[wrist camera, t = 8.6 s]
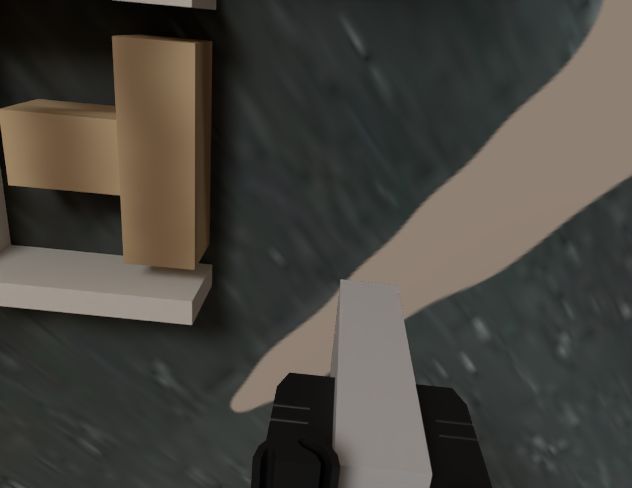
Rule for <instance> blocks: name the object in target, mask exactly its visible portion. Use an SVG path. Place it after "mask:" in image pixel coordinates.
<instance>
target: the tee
mask: <svg viewBox="0 0 632 488" xmlns="http://www.w3.org/2000/svg"><path fill="white" fill-rule="evenodd" d="M112 46H113V66H114V85H115V104H116V106H109V105H98V104H88V103H77V102H66V101H55V100H44V99H36V100H32V101H28V102H24V103H20V104H16V105H12V106H9V107H5V108H1V109H0V126H1V133H2V141H3V148H4V156H5V163H6V171H7V179H8V185H12V186H23V187H34V188H45V189H56V190H67V191H78V192H88V193H99V194H110V195H120V200H121V219H122V238H123V257H124V263H125V264H136V265H147V266H158V267H168V268H179V269H190V270H195V268H196V267H197V265H198V263H199V261H200V260H201V258H202V256H203V254H204V253H205V251H206V249H207V247H208V246H209V244H210V175H211V97H212V41H206V40H195V39H184V38H174V37H163V36H152V35H142V34H136V35H119V36H112Z"/></svg>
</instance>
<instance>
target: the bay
mask: <svg viewBox="0 0 632 488" xmlns="http://www.w3.org/2000/svg"><path fill="white" fill-rule="evenodd" d="M114 1H125V2H136V3H147V4H158V5H168V6H179V7H190V8H201V9H212V10H216V0H114ZM211 286H212V265H211V264H201V263H198V265H197V267H196V268H195V270H190V269H179V268H168V267H158V266H147V265H136V264H125V263H124V257H123V256H120V255H110V254H100V253H89V252H79V251H69V250H59V249H49V248H39V247H29V246H18V245H11V240H10V233H9V226H8V219H7V211H6V204H5V197H4V189H3V182H2V175H1V167H0V306H6V307H16V308H26V309H36V310H46V311H56V312H66V313H76V314H86V315H96V316H106V317H116V318H126V319H136V320H146V321H156V322H166V323H176V324H186V325H192V324H193V322H194V320H195V318H196V316H197V314H198V312H199V310H200V308H201V306H202V304H203V302H204V300H205V298H206V296H207V294H208V292H209V290H210V288H211Z"/></svg>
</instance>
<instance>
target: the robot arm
mask: <svg viewBox="0 0 632 488" xmlns="http://www.w3.org/2000/svg"><path fill="white" fill-rule="evenodd" d="M251 488H492V485H491V482H490V479H489V476H488V473H487V469H486V466H485V463H484V460H483V456H482V453H481V450H480V447H479V444H478V442H477V437H476V434H475V431H474V427H473V426H472V421H471V418H470V415H469V411H468V408H467V405H466V404H465V403H464V401H463V400H462V399H461V398H460V397H459V396H458V395H457V393H456V392H455V391H454V390H453V389H452V388H444V387H435V386H426V385H416V384H415V378H414V373H413V368H412V362H411V357H410V352H409V346H408V341H407V335H406V330H405V325H404V319H403V314H402V308H401V303H400V298H399V293H398V287H397V285H391V284H381V283H371V282H362V281H352V280H342V279H341V281H340V290H339V299H338V308H337V316H336V325H335V335H334V343H333V352H332V361H331V372H330V377H326V376H315V375H307V374H297V373H289V374H288V375H287V376H286V377H285V378H284V379H283V381H281V383H280V384H279V385H278V386H277V389H276V394H275V399H274V405H273V409H272V414H271V421H270V424H269V429H268V434H267V439H266V441H264V442H263V443H262V444H261V445H259V446H258V448H257V450H256V452H255V454H254V456H253V463H252V481H251Z"/></svg>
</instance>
